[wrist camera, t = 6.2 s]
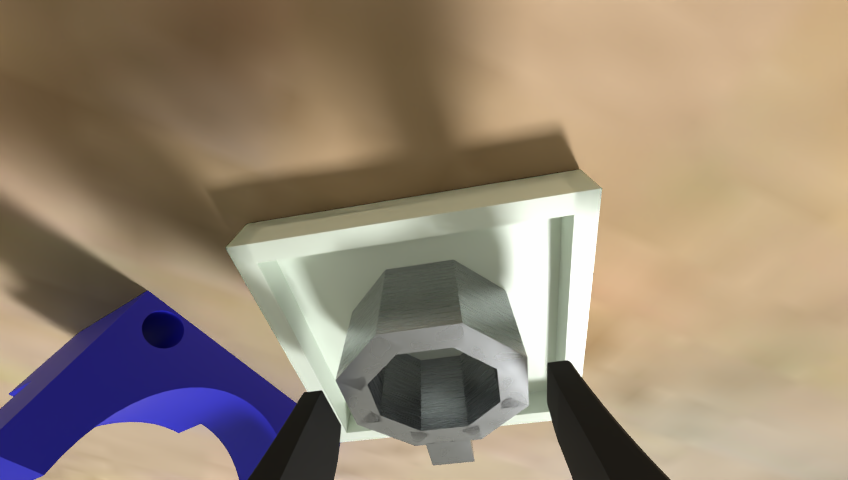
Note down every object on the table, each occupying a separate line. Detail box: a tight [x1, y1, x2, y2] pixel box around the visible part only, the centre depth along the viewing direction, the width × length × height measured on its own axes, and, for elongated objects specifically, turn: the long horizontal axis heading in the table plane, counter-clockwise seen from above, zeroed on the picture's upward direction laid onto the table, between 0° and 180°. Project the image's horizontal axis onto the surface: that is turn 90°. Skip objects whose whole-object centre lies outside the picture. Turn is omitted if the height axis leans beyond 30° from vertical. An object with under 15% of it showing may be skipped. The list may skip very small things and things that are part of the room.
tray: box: [226, 169, 602, 442], centre depth 13 cm, size 11×11×2 cm
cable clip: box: [0, 291, 340, 480], centre depth 14 cm, size 12×4×6 cm, turn 31°
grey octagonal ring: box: [335, 260, 529, 465], centre depth 12 cm, size 6×7×3 cm
